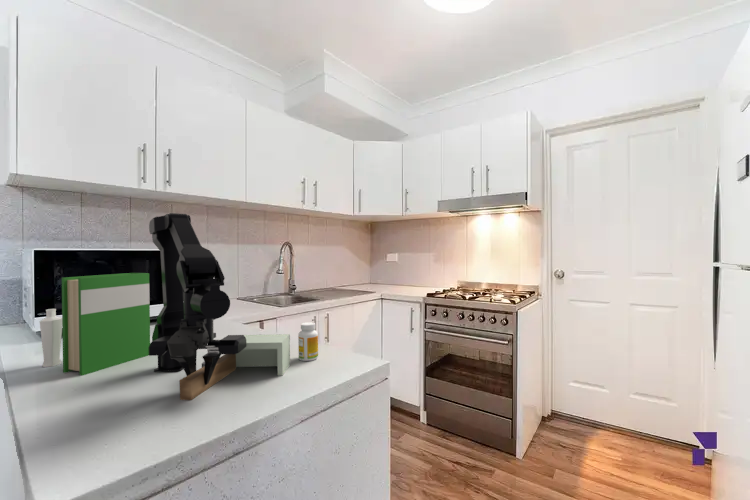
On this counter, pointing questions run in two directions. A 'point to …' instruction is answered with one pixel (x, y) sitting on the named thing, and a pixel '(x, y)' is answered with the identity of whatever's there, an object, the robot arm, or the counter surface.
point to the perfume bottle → (51, 338)
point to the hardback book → (104, 320)
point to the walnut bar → (195, 381)
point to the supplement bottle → (308, 342)
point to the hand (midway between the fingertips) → (199, 384)
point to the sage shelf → (265, 352)
